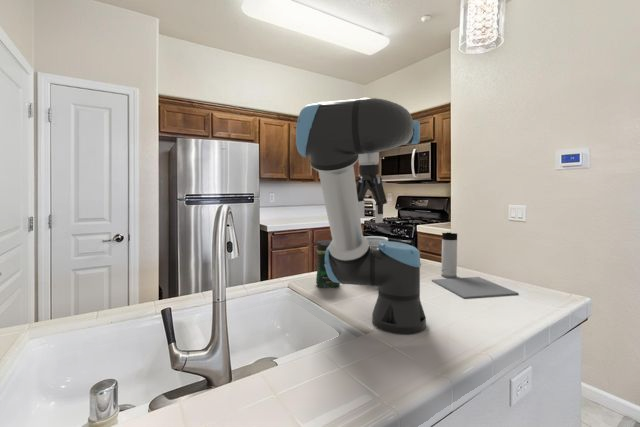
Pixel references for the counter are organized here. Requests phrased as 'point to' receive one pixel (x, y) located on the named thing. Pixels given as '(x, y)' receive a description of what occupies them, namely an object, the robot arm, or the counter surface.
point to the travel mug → (449, 255)
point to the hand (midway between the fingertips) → (369, 220)
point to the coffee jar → (323, 266)
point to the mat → (473, 287)
